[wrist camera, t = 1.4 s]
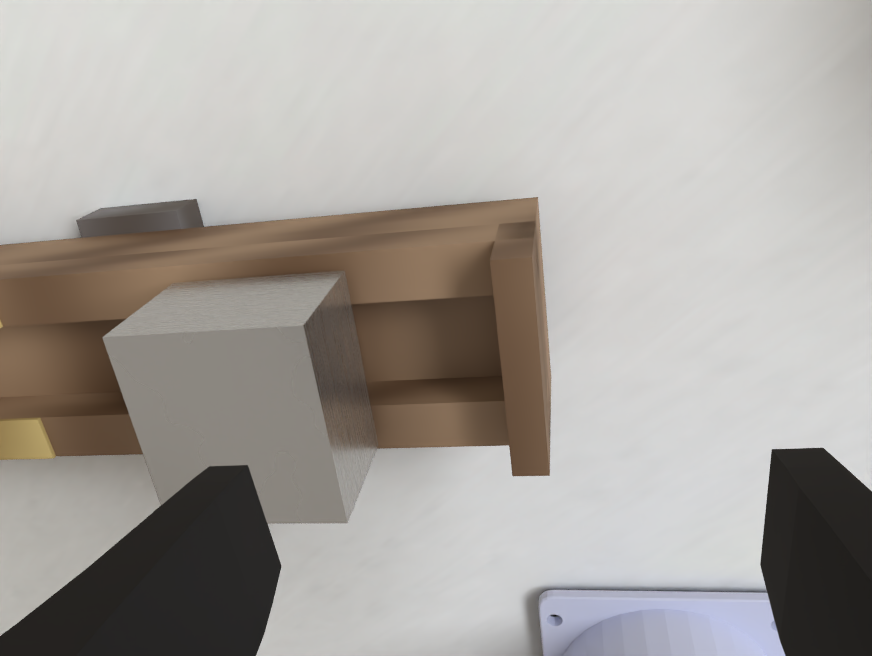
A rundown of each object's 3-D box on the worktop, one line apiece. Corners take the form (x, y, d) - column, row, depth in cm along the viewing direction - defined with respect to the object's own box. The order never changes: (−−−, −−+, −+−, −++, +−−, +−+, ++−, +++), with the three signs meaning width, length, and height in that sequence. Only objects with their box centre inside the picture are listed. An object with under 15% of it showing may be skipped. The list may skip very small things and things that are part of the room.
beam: (537, 165, 18) (530, 231, 13) (552, 373, 21) (550, 494, 16) (-170, 234, 23) (-377, 304, 18) (-89, 400, 25) (-251, 503, 20)
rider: (361, 249, 17) (303, 325, 13) (390, 413, 18) (347, 523, 15) (201, 262, 17) (102, 337, 14) (244, 418, 19) (167, 523, 15)
